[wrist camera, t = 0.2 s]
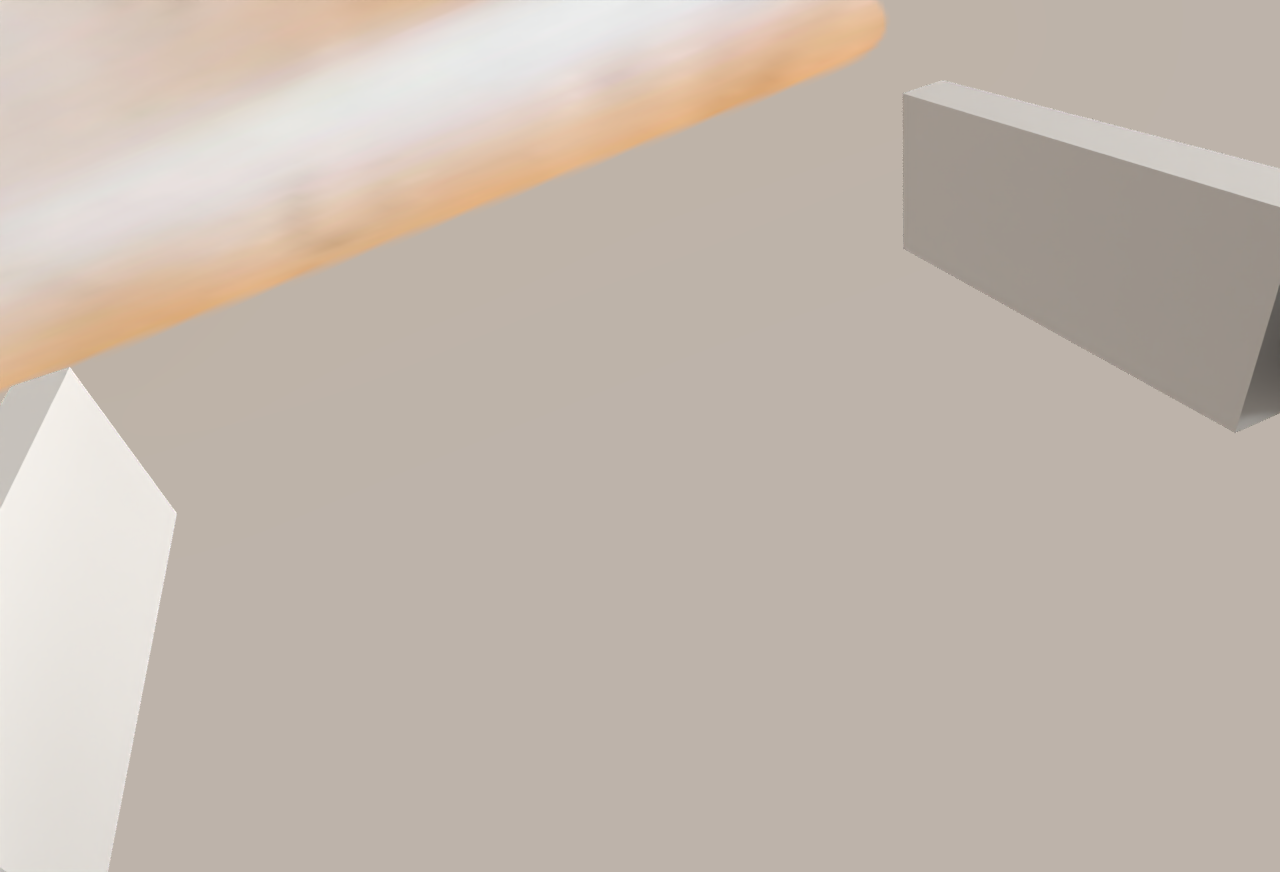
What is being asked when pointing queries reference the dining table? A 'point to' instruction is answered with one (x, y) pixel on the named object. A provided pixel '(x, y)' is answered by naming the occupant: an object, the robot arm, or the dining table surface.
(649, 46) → the dining table surface
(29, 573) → the robot arm
